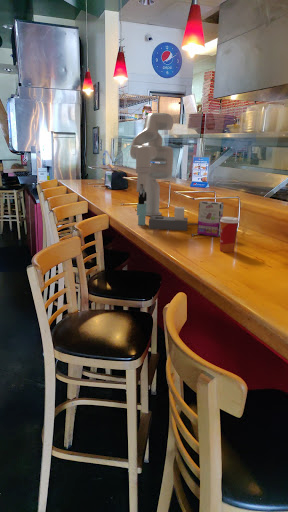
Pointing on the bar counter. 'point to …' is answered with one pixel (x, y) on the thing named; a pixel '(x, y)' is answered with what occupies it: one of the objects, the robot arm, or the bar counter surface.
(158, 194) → the robot arm
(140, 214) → the teal plug
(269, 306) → the bar counter surface
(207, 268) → the bar counter surface
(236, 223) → the paper cup
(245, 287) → the bar counter surface
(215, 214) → the candy bar box
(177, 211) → the block
